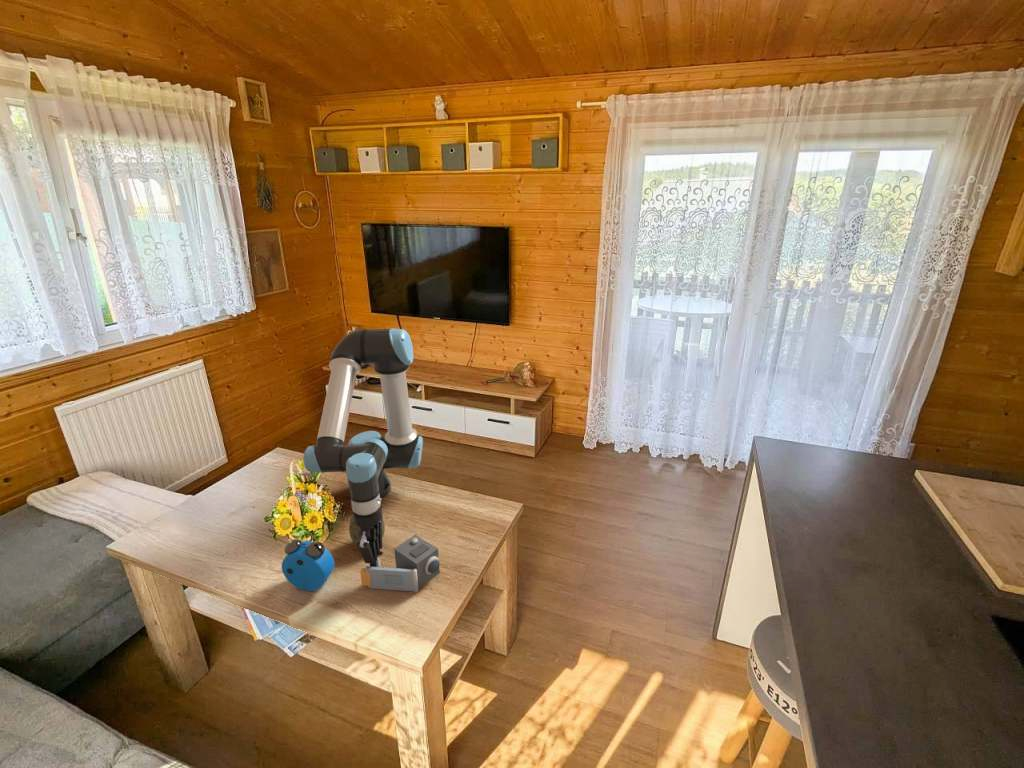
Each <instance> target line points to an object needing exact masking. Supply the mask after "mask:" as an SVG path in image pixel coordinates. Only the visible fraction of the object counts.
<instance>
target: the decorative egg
mask: <svg viewBox="0 0 1024 768" xmlns="http://www.w3.org/2000/svg"><path fill="white" fill-rule="evenodd" d="M348 526H349V527H348V532H349V533H348V534H349V536H350V539H351V540H352V542H353V544H355V546H357V543H358V542H360V541H361V538H362V536H361V535H360V529H361V528H360V527H359V526H357V525H356V524H355V522H354V516H353V514H352V516H351V517H350V519H349V525H348ZM385 526H386V525H385V520H384V518H383V517H382V538H383V537H384V534H385V529H386V527H385Z"/></svg>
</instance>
